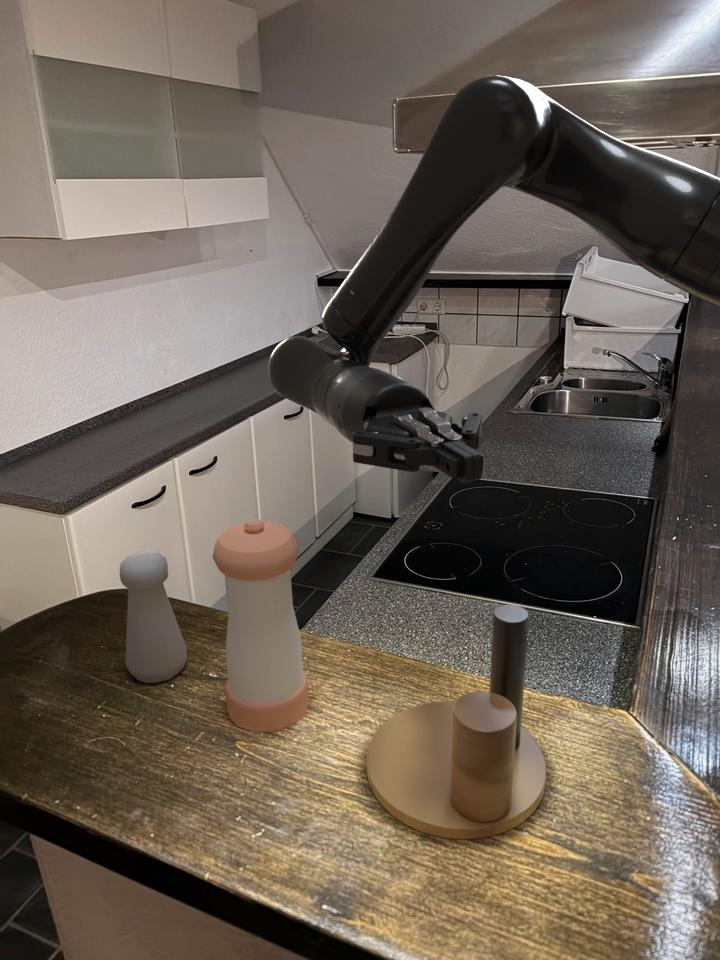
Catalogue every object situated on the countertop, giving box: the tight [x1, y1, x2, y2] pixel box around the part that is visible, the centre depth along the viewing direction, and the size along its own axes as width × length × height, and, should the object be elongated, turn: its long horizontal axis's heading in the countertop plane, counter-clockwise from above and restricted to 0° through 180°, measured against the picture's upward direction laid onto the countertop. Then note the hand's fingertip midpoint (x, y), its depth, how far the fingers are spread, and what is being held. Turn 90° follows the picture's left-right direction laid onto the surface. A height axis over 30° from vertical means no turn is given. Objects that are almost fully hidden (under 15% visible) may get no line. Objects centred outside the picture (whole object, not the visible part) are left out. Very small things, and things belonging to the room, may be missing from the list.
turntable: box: [366, 604, 547, 840], centre depth 58 cm, size 14×14×13 cm
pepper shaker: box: [212, 518, 310, 733], centre depth 65 cm, size 7×7×19 cm
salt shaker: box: [119, 550, 188, 684], centre depth 72 cm, size 6×6×13 cm
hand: (473, 469), depth 58 cm, fingers closed
